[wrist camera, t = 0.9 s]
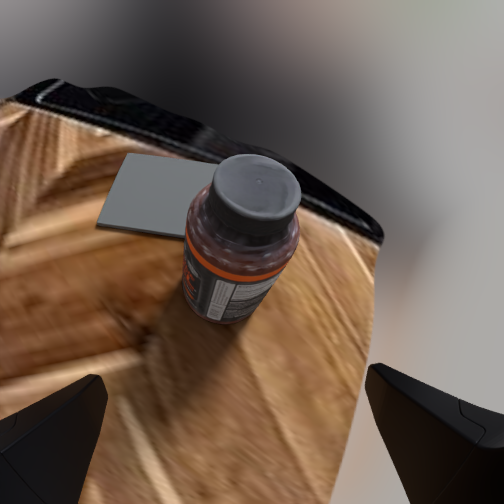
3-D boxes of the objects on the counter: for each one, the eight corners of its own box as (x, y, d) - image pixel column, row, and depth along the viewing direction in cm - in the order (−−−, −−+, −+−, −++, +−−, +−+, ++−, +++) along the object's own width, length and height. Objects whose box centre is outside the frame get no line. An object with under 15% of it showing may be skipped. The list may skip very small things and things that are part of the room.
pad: (261, 249, 24) (262, 247, 24) (97, 225, 22) (96, 222, 22) (262, 175, 29) (263, 173, 29) (128, 155, 27) (127, 152, 27)
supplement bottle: (176, 258, 22) (184, 138, 13) (249, 251, 24) (296, 141, 15) (188, 333, 19) (200, 243, 10) (269, 320, 21) (342, 231, 12)
